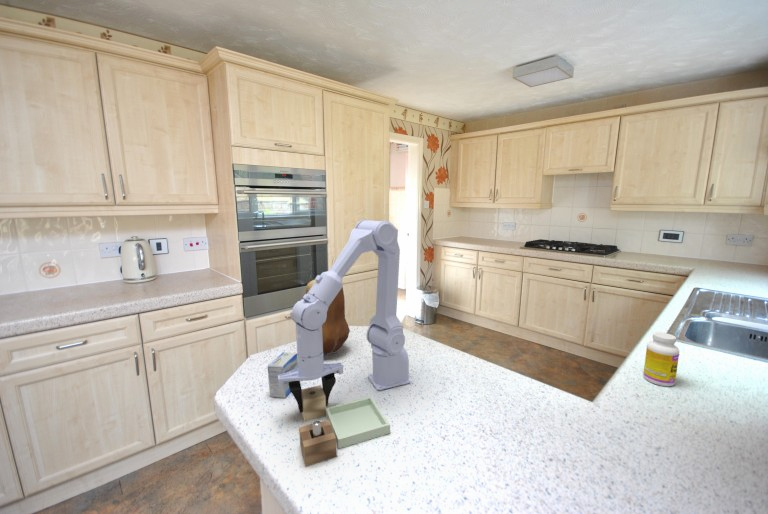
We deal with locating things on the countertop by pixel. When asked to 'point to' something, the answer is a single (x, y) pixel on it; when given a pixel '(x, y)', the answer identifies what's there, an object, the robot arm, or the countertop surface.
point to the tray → (357, 421)
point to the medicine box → (278, 367)
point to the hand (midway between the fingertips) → (313, 407)
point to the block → (313, 403)
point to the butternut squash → (334, 323)
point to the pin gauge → (316, 429)
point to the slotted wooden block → (317, 443)
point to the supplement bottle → (661, 360)
